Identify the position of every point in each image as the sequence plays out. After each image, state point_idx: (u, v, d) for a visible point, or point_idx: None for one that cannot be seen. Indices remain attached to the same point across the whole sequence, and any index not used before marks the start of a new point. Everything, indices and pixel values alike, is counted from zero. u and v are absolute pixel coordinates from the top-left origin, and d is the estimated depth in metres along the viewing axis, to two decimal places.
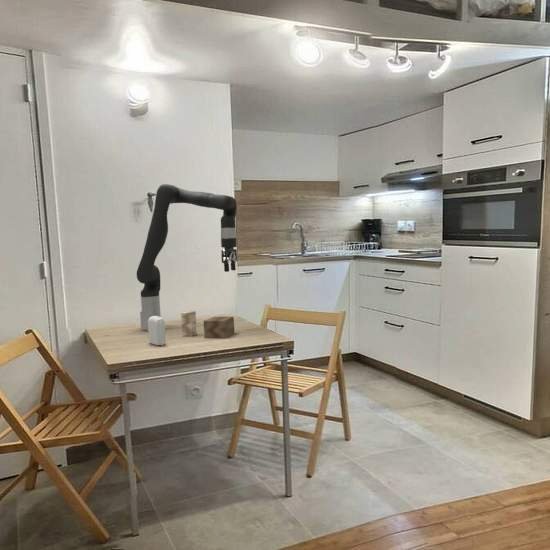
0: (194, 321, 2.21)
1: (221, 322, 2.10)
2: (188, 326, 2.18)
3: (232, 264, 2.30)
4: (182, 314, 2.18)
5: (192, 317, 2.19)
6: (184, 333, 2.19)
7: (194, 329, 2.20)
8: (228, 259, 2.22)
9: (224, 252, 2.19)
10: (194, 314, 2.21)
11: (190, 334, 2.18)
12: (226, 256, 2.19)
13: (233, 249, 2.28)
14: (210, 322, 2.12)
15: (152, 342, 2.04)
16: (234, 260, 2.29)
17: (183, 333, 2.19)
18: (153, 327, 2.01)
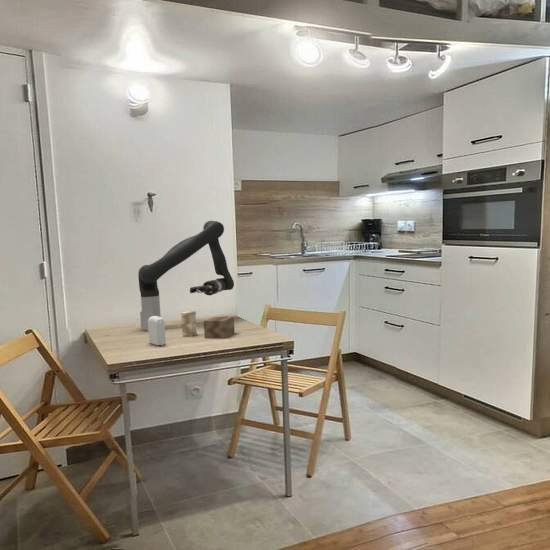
0: (194, 321, 2.21)
1: (221, 322, 2.10)
2: (188, 326, 2.18)
3: (194, 290, 2.35)
4: (182, 314, 2.18)
5: (192, 317, 2.19)
6: (184, 333, 2.19)
7: (194, 329, 2.20)
8: (211, 291, 2.35)
9: (219, 289, 2.38)
10: (194, 314, 2.21)
11: (190, 334, 2.18)
12: None
13: None
14: (210, 322, 2.12)
15: (152, 342, 2.04)
16: None
17: (183, 333, 2.19)
18: (153, 327, 2.01)
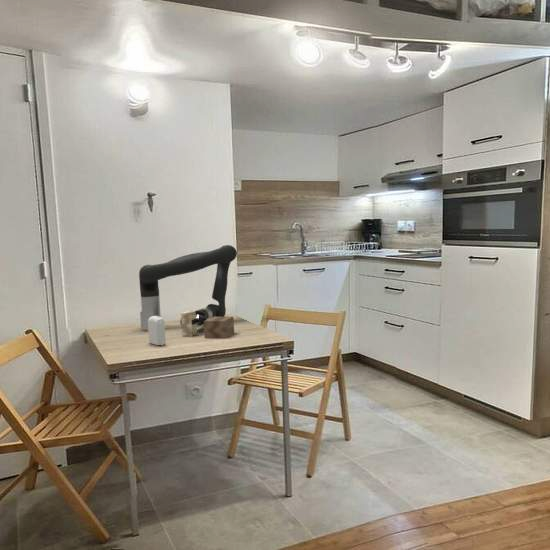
0: None
1: (221, 322, 2.10)
2: (188, 326, 2.18)
3: None
4: (182, 314, 2.18)
5: (192, 317, 2.19)
6: (184, 333, 2.19)
7: (194, 329, 2.20)
8: (198, 322, 2.23)
9: None
10: (194, 314, 2.21)
11: (190, 334, 2.18)
12: None
13: None
14: (210, 322, 2.12)
15: (152, 342, 2.04)
16: None
17: (183, 333, 2.19)
18: (153, 327, 2.01)
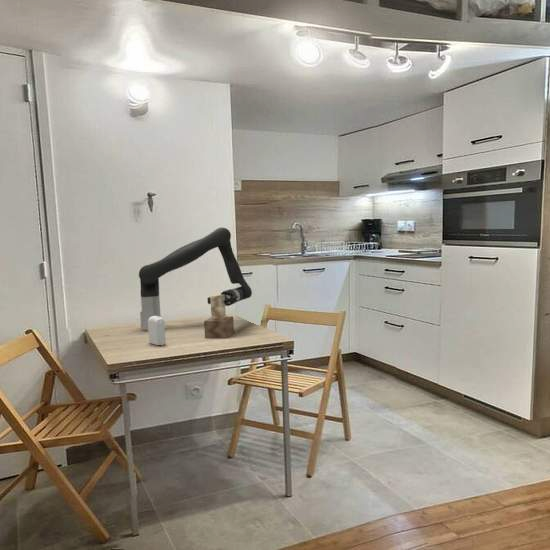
0: (223, 304, 2.17)
1: (222, 322, 2.10)
2: (217, 309, 2.14)
3: None
4: (211, 297, 2.15)
5: (221, 300, 2.15)
6: (213, 316, 2.15)
7: (223, 312, 2.16)
8: (229, 302, 2.19)
9: (237, 299, 2.22)
10: (223, 297, 2.17)
11: (219, 317, 2.14)
12: (235, 302, 2.20)
13: None
14: (211, 322, 2.12)
15: (152, 342, 2.04)
16: None
17: (212, 316, 2.15)
18: (153, 327, 2.01)
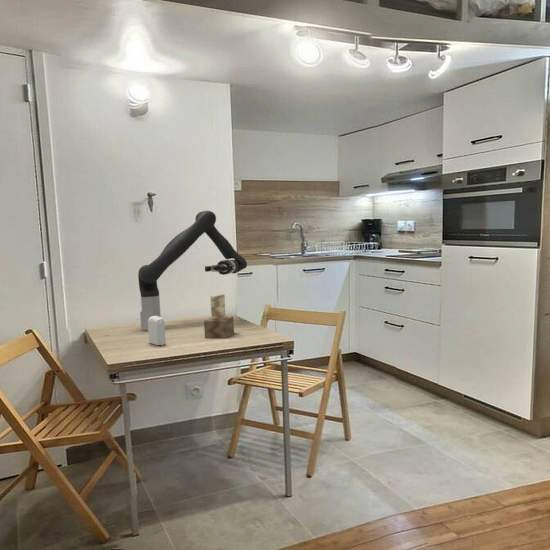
0: (223, 304, 2.17)
1: (222, 322, 2.10)
2: (217, 309, 2.14)
3: (209, 268, 2.36)
4: (211, 297, 2.14)
5: (222, 300, 2.15)
6: (213, 316, 2.15)
7: (223, 312, 2.16)
8: (226, 270, 2.37)
9: (233, 268, 2.39)
10: (223, 297, 2.17)
11: (220, 317, 2.14)
12: (232, 270, 2.37)
13: None
14: (211, 322, 2.12)
15: (152, 342, 2.04)
16: (211, 270, 2.38)
17: (212, 316, 2.15)
18: (153, 327, 2.01)
